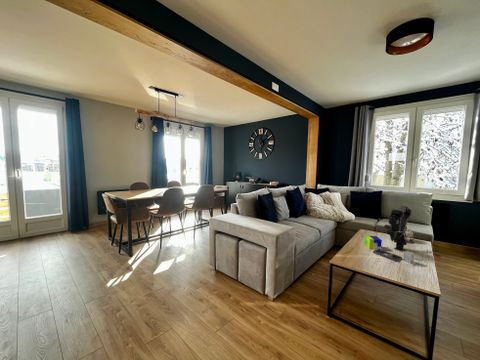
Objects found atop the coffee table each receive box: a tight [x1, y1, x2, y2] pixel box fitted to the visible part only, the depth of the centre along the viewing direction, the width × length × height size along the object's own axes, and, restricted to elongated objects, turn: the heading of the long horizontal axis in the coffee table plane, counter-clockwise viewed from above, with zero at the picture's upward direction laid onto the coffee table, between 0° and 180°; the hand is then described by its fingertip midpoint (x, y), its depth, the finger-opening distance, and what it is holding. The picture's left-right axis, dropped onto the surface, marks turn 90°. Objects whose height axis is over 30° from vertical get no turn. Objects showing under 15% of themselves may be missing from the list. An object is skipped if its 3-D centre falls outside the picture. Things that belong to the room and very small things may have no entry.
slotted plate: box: [372, 248, 403, 263], centre depth 173 cm, size 10×18×2 cm, turn 27°
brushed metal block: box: [402, 250, 415, 264], centre depth 162 cm, size 5×5×8 cm
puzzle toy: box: [364, 234, 383, 251], centre depth 190 cm, size 10×10×10 cm
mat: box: [399, 259, 417, 267], centre depth 162 cm, size 8×8×1 cm
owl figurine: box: [404, 225, 415, 244], centre depth 209 cm, size 18×12×17 cm, turn 42°
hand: (394, 240), depth 177 cm, fingers open, 9 cm apart
